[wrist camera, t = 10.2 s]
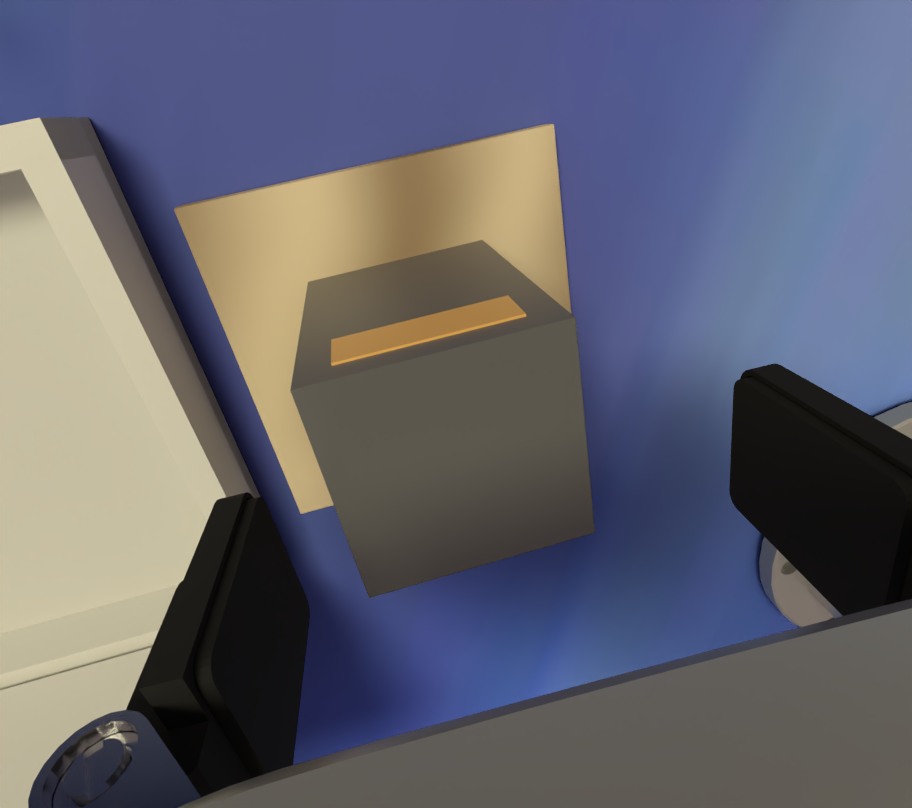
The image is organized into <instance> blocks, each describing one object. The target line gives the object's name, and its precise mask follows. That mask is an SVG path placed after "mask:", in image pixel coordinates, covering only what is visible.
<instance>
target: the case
mask: <svg viewBox="0 0 912 808" xmlns="http://www.w3.org/2000/svg"><path fill="white" fill-rule="evenodd" d="M246 492H248V493H250V494H251V495H252V496H253V497H254V498H257V497H260V495H259V493H258V490H257V488H256V486H255V484H254V482H253V479H252V477H251V475H250V473H249V471H248V468H247V466H246V464H245V462H244V460H243V457H242V455H241V453H240V451H239V449H238V446H237V444H236V442H235V440H234V438H233V435H232V433H231V431H230V429H229V427H228V424H227V422H226V420H225V418H224V416H223V413H222V411H221V409H220V407H219V405H218V402H217V400H216V398H215V396H214V393H213V391H212V389H211V387H210V385H209V382H208V380H207V378H206V376H205V374H204V371H203V369H202V367H201V365H200V363H199V360H198V358H197V356H196V354H195V352H194V349H193V347H192V345H191V343H190V341H189V338H188V336H187V334H186V332H185V330H184V327H183V325H182V323H181V321H180V319H179V316H178V314H177V312H176V310H175V308H174V305H173V303H172V301H171V299H170V296H169V294H168V292H167V290H166V288H165V285H164V283H163V281H162V279H161V277H160V274H159V272H158V270H157V268H156V266H155V263H154V261H153V259H152V257H151V255H150V252H149V250H148V248H147V246H146V244H145V241H144V239H143V237H142V235H141V233H140V230H139V228H138V226H137V224H136V222H135V219H134V217H133V215H132V213H131V211H130V208H129V206H128V204H127V202H126V200H125V197H124V195H123V193H122V191H121V188H120V186H119V184H118V182H117V180H116V177H115V175H114V173H113V171H112V169H111V166H110V164H109V162H108V160H107V158H106V155H105V153H104V151H103V149H102V147H101V144H100V142H99V140H98V138H97V136H96V133H95V131H94V129H93V127H92V125H91V122H90V120H89V118H35V119H31V120H26V121H21V122H16V123H11V124H6V125H2V126H0V808H29V807H28V798H29V795H30V791H31V788H32V785H33V782H34V780H35V779H36V777H37V775H38V773H39V772H40V770H41V768H42V767H43V765H44V763H45V762H46V761H47V760H48V759H49V757H50V756H51V755H52V754H53V753H54V752H55V750H56V749H57V748H58V747H59V746H60V745H61V744H62V743H63V742H64V741H66V740H67V739H68V738H69V737H70V736H71V735H72V734H73V733H75V732H76V731H77V730H79V729H80V728H82V727H84V726H85V725H87V724H88V723H90V722H91V721H93V720H95V719H97V718H99V717H102V716H104V715H106V714H109V713H112V712H117V711H122V710H126V708H127V706H128V704H129V701H130V699H131V696H132V694H133V691H134V689H135V687H136V684H137V682H138V679H139V677H140V675H141V672H142V670H143V667H144V665H145V663H146V660H147V658H148V655H149V653H150V651H151V648H152V646H153V643H154V641H155V639H156V636H157V634H158V631H159V629H160V626H161V624H162V622H163V619H164V617H165V614H166V612H167V610H168V607H169V605H170V602H171V600H172V598H173V595H174V593H175V590H176V588H177V587H178V585H179V583H180V582H181V581H183V580H184V577H185V575H186V572H187V570H188V567H189V565H190V562H191V560H192V557H193V555H194V553H195V550H196V548H197V545H198V543H199V540H200V538H201V535H202V533H203V530H204V528H205V526H206V523H207V521H208V518H209V516H210V513H211V511H212V508H213V506H214V503H215V502H216V500H218V499H221V498H225V497H229V496H234V495H238V494H242V493H246Z"/></svg>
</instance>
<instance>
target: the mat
mask: <svg viewBox="0 0 912 808" xmlns="http://www.w3.org/2000/svg"><path fill="white" fill-rule="evenodd" d="M174 210H175V213H176V215H177V218H178V220H179V222H180V225H181V227H182V230H183V232H184V234H185V237H186V239H187V242H188V244H189V246H190V249H191V251H192V254H193V256H194V258H195V261H196V263H197V266H198V268H199V270H200V273H201V275H202V278H203V280H204V282H205V285H206V287H207V290H208V292H209V294H210V297H211V299H212V302H213V304H214V306H215V309H216V311H217V314H218V316H219V318H220V321H221V323H222V326H223V328H224V330H225V333H226V335H227V338H228V340H229V342H230V345H231V347H232V350H233V352H234V354H235V357H236V359H237V362H238V364H239V366H240V369H241V371H242V374H243V376H244V378H245V381H246V383H247V386H248V388H249V390H250V393H251V395H252V398H253V400H254V402H255V405H256V407H257V410H258V412H259V414H260V417H261V419H262V422H263V424H264V426H265V429H266V431H267V434H268V436H269V438H270V441H271V443H272V446H273V448H274V450H275V453H276V455H277V458H278V460H279V462H280V465H281V467H282V470H283V472H284V474H285V477H286V479H287V482H288V484H289V486H290V489H291V491H292V494H293V496H294V498H295V501H296V503H297V506H298V508H299V510H300V513H301V514H302V513H306V512H310V511H314V510H317V509H321V508H325V507H328V506H332V505H334V504H333V501H332V499H331V496H330V494H329V491H328V488H327V486H326V483H325V480H324V478H323V475H322V473H321V470H320V467H319V465H318V462H317V459H316V457H315V454H314V452H313V449H312V446H311V444H310V441H309V438H308V436H307V433H306V430H305V428H304V425H303V423H302V420H301V417H300V415H299V412H298V409H297V407H296V404H295V402H294V399H293V396H292V394H291V391H290V389H291V383H292V377H293V370H294V364H295V358H296V352H297V346H298V340H299V334H300V328H301V322H302V316H303V309H304V303H305V297H306V291H307V285H308V282H309V281H314V280H318V279H322V278H326V277H330V276H334V275H338V274H343V273H347V272H351V271H355V270H359V269H363V268H367V267H372V266H376V265H380V264H384V263H388V262H392V261H396V260H401V259H405V258H409V257H413V256H417V255H421V254H425V253H429V252H434V251H438V250H442V249H446V248H450V247H454V246H458V245H463V244H467V243H471V242H475V241H479V240H483V241H484V242H485V243H487V244H488V245H489V246H490V247H492V248H493V249H494V250H495V251H496V252H498V253H499V254H500V255H501V256H502V257H504V258H505V259H506V260H507V261H508V262H510V263H511V264H512V265H513V266H514V267H516V268H517V269H518V270H519V271H520V272H522V273H523V274H524V275H525V276H526V277H528V278H529V279H530V280H531V281H532V282H534V283H535V284H536V285H537V286H538V287H540V288H541V289H542V290H543V291H544V292H546V293H547V294H548V295H549V296H550V297H552V298H553V299H554V300H555V301H556V302H558V303H559V304H560V305H561V306H562V307H564V308H565V309H566V310H567V311H568V312H570V313H571V307H570V296H569V285H568V274H567V263H566V252H565V241H564V230H563V219H562V208H561V197H560V186H559V175H558V164H557V153H556V142H555V131H554V124H544V125H539V126H535V127H530V128H526V129H521V130H517V131H512V132H508V133H503V134H499V135H494V136H490V137H486V138H481V139H477V140H472V141H468V142H463V143H459V144H454V145H450V146H445V147H441V148H436V149H432V150H427V151H423V152H418V153H414V154H409V155H405V156H400V157H396V158H391V159H387V160H382V161H378V162H373V163H369V164H364V165H360V166H355V167H351V168H346V169H342V170H337V171H333V172H328V173H324V174H319V175H315V176H310V177H306V178H302V179H297V180H293V181H288V182H284V183H279V184H275V185H270V186H266V187H261V188H257V189H252V190H248V191H243V192H239V193H234V194H230V195H225V196H221V197H216V198H212V199H207V200H203V201H198V202H194V203H189V204H185V205H180V206H178V207H176V208H175V209H174Z"/></svg>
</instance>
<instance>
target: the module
mask: <svg viewBox="0 0 912 808" xmlns="http://www.w3.org/2000/svg"><path fill="white" fill-rule="evenodd" d="M290 391H291V394H292V396H293V399H294V402H295V404H296V407H297V409H298V412H299V415H300V417H301V420H302V423H303V425H304V428H305V430H306V433H307V436H308V438H309V441H310V444H311V446H312V449H313V452H314V454H315V457H316V459H317V462H318V465H319V467H320V470H321V473H322V475H323V478H324V480H325V483H326V486H327V488H328V491H329V494H330V496H331V499H332V501H333V504H334V507H335V509H336V512H337V515H338V517H339V520H340V522H341V525H342V528H343V530H344V533H345V536H346V538H347V541H348V544H349V546H350V549H351V551H352V554H353V557H354V559H355V562H356V565H357V567H358V570H359V572H360V575H361V578H362V580H363V583H364V586H365V588H366V591H367V593H368V596H369V598H371V597H374V596H378V595H381V594H385V593H388V592H392V591H395V590H398V589H402V588H405V587H409V586H412V585H416V584H419V583H423V582H426V581H430V580H433V579H437V578H440V577H443V576H447V575H450V574H454V573H457V572H461V571H464V570H468V569H471V568H475V567H478V566H482V565H485V564H488V563H492V562H495V561H499V560H502V559H506V558H509V557H513V556H516V555H520V554H523V553H527V552H530V551H533V550H537V549H540V548H544V547H547V546H551V545H554V544H558V543H561V542H565V541H568V540H572V539H575V538H578V537H582V536H585V535H589V534H592V533H595V527H594V516H593V505H592V494H591V483H590V472H589V461H588V451H587V440H586V429H585V418H584V407H583V396H582V385H581V374H580V363H579V352H578V341H577V330H576V319H575V317H574V316H573V315H572V314H571V313H570V312H568V311H567V310H566V309H565V308H564V307H562V306H561V305H560V304H559V303H558V302H556V301H555V300H554V299H553V298H552V297H550V296H549V295H548V294H547V293H546V292H544V291H543V290H542V289H541V288H540V287H538V286H537V285H536V284H535V283H534V282H532V281H531V280H530V279H529V278H528V277H526V276H525V275H524V274H523V273H522V272H520V271H519V270H518V269H517V268H516V267H514V266H513V265H512V264H511V263H510V262H508V261H507V260H506V259H505V258H504V257H502V256H501V255H500V254H499V253H498V252H496V251H495V250H494V249H493V248H492V247H490V246H489V245H488V244H487V243H485V242H484V241H483V240H479V241H475V242H471V243H467V244H463V245H458V246H454V247H450V248H446V249H442V250H438V251H434V252H429V253H425V254H421V255H417V256H413V257H409V258H405V259H401V260H396V261H392V262H388V263H384V264H380V265H376V266H372V267H367V268H363V269H359V270H355V271H351V272H347V273H343V274H338V275H334V276H330V277H326V278H322V279H318V280H314V281H309V282H308V285H307V291H306V297H305V303H304V309H303V316H302V322H301V328H300V334H299V340H298V346H297V352H296V358H295V364H294V370H293V377H292V383H291V389H290Z"/></svg>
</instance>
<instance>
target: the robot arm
mask: <svg viewBox="0 0 912 808" xmlns="http://www.w3.org/2000/svg"><path fill="white" fill-rule="evenodd" d="M730 496H731V499H732V502H733V504H734V505H735V507H736V508H737V509H738V510H739V511H740V512H741V513H742V514H743V516H744V517H745V518H746V519H747V520H748V521H749V522H750V523H751V524H752V525H753V526H754V527H755V528H756V529H757V530H758V531H759V532H760V533H761V534H762V535H763V536H764V539H763V542H762V547H761V554H760V560H759V568H760V580H761V583H762V585H763V588H764V590H765V593H766V595H767V596H768V598H769V599H770V600H771V601H772V602H773V604H774V605H775V606H776V607H777V608H778V609H779V611H780V612H781V613H782V614H783V615H784V616H785V617H786V618H787V619H789V620H790V621H791V622H792V623H793V624H795V625H797V626H799V628H796V629H792V630H788V631H784V632H780V633H776V634H772V635H769V636H765V637H761V638H757V639H753V640H749V641H746V642H742V643H738V644H734V645H730V646H726V647H723V648H719V649H715V650H711V651H708V652H704V653H700V654H696V655H692V656H689V657H685V658H681V659H677V660H674V661H670V662H666V663H662V664H659V665H655V666H651V667H647V668H643V669H640V670H636V671H632V672H628V673H625V674H621V675H617V676H613V677H610V678H606V679H602V680H598V681H595V682H591V683H587V684H584V685H580V686H576V687H572V688H569V689H565V690H561V691H557V692H554V693H550V694H546V695H542V696H539V697H535V698H531V699H528V700H524V701H520V702H517V703H513V704H509V705H506V706H502V707H498V708H495V709H491V710H487V711H484V712H480V713H476V714H473V715H469V716H465V717H462V718H458V719H454V720H451V721H447V722H443V723H440V724H436V725H432V726H429V727H425V728H421V729H418V730H414V731H410V732H407V733H403V734H399V735H395V736H392V737H388V738H385V739H381V740H378V741H374V742H371V743H367V744H364V745H360V746H357V747H354V748H350V749H347V750H343V751H340V752H336V753H333V754H329V755H326V756H323V757H319V758H316V759H312V760H309V761H305V762H302V763H298V764H295V765H293V758H294V749H295V740H296V732H297V723H298V714H299V706H300V697H301V688H302V680H303V671H304V662H305V654H306V645H307V636H308V628H309V619H310V611H309V604H308V600H307V597H306V595H305V593H304V590H303V588H302V586H301V583H300V581H299V579H298V577H297V574H296V572H295V570H294V567H293V565H292V563H291V561H290V558H289V556H288V554H287V551H286V549H285V547H284V544H283V542H282V540H281V538H280V535H279V533H278V531H277V528H276V526H275V524H274V522H273V519H272V517H271V515H270V512H269V510H268V508H267V505H266V503H265V501H264V500H263V499H262V498H261V497H257V498H254V497H253V496H252V495H251V494H250V493H248V492H246V493H242V494H238V495H234V496H229V497H225V498H221V499H218V500H216V502H215V503H214V506H213V508H212V511H211V513H210V516H209V518H208V521H207V523H206V526H205V528H204V530H203V533H202V535H201V538H200V540H199V543H198V545H197V548H196V550H195V553H194V555H193V557H192V560H191V562H190V565H189V567H188V570H187V572H186V575H185V577H184V580H183V581H181V582H180V583H179V585H178V587H177V588H176V590H175V593H174V595H173V598H172V600H171V602H170V605H169V607H168V610H167V612H166V614H165V617H164V619H163V622H162V624H161V626H160V629H159V631H158V634H157V636H156V639H155V641H154V643H153V646H152V648H151V651H150V653H149V655H148V658H147V660H146V663H145V665H144V667H143V670H142V672H141V675H140V677H139V679H138V682H137V684H136V687H135V689H134V691H133V694H132V696H131V699H130V701H129V704H128V706H127V708H126V710H122V711H117V712H112V713H109V714H106V715H104V716H102V717H99V718H97V719H95V720H93V721H91V722H90V723H88V724H87V725H85V726H84V727H82V728H80V729H79V730H77V731H76V732H75V733H73V734H72V735H71V736H70V737H69V738H68V739H67V740H66V741H64V742H63V743H62V744H61V745H60V746H59V747H58V748H57V749H56V750H55V752H54V753H53V754H52V755H51V756H50V757H49V759H48V760H47V761H46V762H45V763H44V765H43V767H42V768H41V770H40V772H39V773H38V775H37V777H36V779H35V780H34V782H33V785H32V788H31V791H30V795H29V798H28V807H29V808H912V402H909V403H906V404H902V405H900V406H898V407H896V408H893V409H891V410H889V411H886V412H884V413H882V414H880V415H877V416H875V417H872V416H870V415H868V414H867V413H865V412H863V411H861V410H859V409H858V408H856V407H854V406H852V405H850V404H849V403H847V402H845V401H843V400H842V399H840V398H838V397H836V396H834V395H833V394H831V393H829V392H827V391H825V390H824V389H822V388H820V387H818V386H817V385H815V384H813V383H811V382H809V381H808V380H806V379H804V378H802V377H801V376H799V375H797V374H795V373H793V372H792V371H790V370H788V369H786V368H784V367H783V366H781V365H778V364H771V365H767V366H762V367H758V368H754V369H750V370H746V371H745V372H743V374H742V376H741V379H740V380H737V381H736V382H735V385H734V394H733V418H732V442H731V466H730Z"/></svg>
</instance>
